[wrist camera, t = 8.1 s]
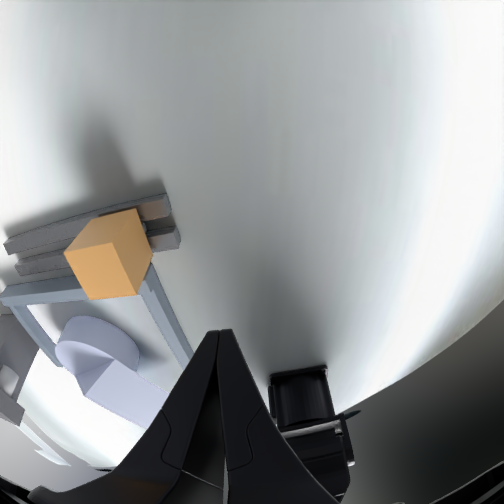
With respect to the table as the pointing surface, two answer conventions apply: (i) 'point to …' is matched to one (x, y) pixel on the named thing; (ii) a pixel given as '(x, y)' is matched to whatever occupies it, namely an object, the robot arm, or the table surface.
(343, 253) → the table surface
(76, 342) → the wedge on round base
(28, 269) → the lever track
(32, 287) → the press bed
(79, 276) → the tan wooden cube
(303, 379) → the robot arm
